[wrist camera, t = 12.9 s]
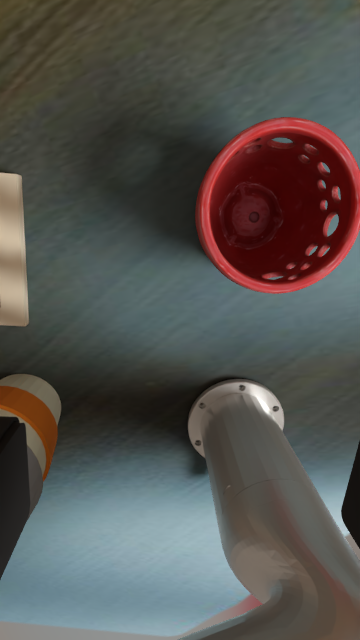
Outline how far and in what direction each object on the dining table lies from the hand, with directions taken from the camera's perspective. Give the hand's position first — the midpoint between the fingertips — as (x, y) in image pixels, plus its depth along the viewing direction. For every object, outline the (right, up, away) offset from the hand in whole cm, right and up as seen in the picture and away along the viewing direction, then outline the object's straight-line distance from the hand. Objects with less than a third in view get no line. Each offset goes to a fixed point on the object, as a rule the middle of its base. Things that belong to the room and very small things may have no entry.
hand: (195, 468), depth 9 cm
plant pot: (+7, +16, +28) cm, 33 cm away
